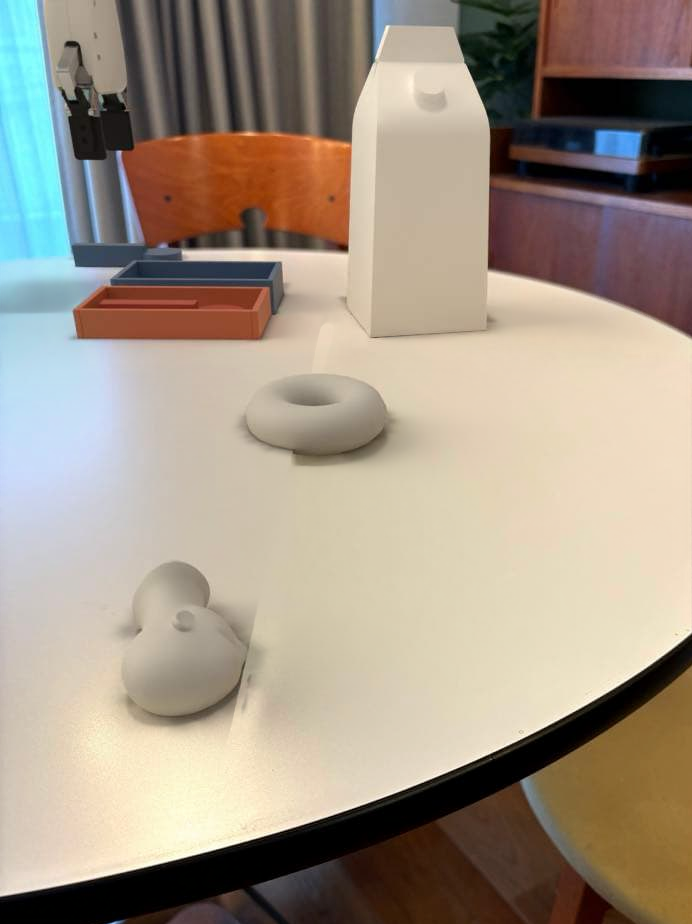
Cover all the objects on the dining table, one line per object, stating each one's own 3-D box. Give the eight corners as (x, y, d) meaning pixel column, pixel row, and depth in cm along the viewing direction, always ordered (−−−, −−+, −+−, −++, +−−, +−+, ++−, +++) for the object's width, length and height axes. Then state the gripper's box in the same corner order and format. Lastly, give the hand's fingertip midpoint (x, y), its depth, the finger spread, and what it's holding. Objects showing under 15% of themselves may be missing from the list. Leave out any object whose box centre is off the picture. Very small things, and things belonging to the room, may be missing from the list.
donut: (277, 405, 65) (224, 454, 56) (275, 362, 63) (219, 406, 55) (401, 418, 63) (364, 470, 54) (402, 374, 61) (364, 421, 53)
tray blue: (115, 313, 87) (109, 279, 85) (137, 291, 95) (133, 260, 93) (274, 314, 87) (272, 280, 85) (283, 292, 95) (281, 261, 93)
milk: (451, 301, 93) (463, 29, 80) (486, 329, 83) (506, 26, 70) (346, 307, 90) (340, 26, 77) (370, 337, 80) (368, 22, 67)
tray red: (79, 347, 76) (72, 309, 75) (107, 320, 84) (101, 285, 83) (260, 348, 77) (257, 311, 75) (271, 321, 85) (269, 286, 83)
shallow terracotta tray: (98, 335, 78) (93, 308, 77) (112, 321, 82) (108, 295, 81) (242, 336, 78) (239, 309, 77) (248, 322, 83) (246, 296, 81)
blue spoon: (71, 269, 104) (67, 247, 103) (82, 261, 108) (79, 240, 107) (179, 270, 104) (176, 248, 103) (186, 261, 109) (184, 241, 107)
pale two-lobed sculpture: (237, 750, 34) (108, 737, 32) (234, 632, 41) (126, 616, 39) (262, 670, 32) (126, 652, 30) (254, 559, 39) (142, 540, 37)
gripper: (70, -29, 89) (98, 147, 97) (0, -47, 74) (41, 163, 82) (140, -28, 89) (161, 147, 97) (84, -46, 74) (116, 164, 82)
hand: (106, 154), depth 90 cm, fingers open, 9 cm apart
